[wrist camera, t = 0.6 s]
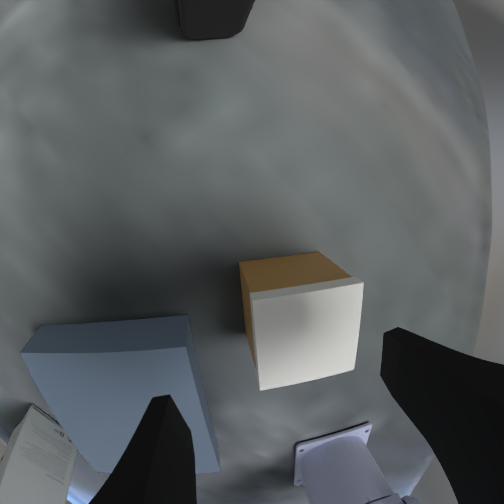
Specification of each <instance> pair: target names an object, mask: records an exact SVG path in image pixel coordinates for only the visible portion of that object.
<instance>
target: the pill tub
mask: <svg viewBox="0 0 504 504" xmlns="http://www.w3.org/2000/svg"><path fill="white" fill-rule="evenodd" d="M239 268H240V278H241V289H242V299H243V309H244V319H245V329H246V336H247V339H248V343H249V346H250V350H251V353H252V357H253V360H254V364H255V367H256V373H257V382H258V385H259V389H260V391H261V390H267V389H272V388H277V387H283V386H288V385H293V384H297V383H302V382H306V381H311V380H315V379H319V378H324V377H328V376H332V375H335V374H339V373H343V372H347V371H350V370H354V366H355V359H356V352H357V344H358V336H359V328H360V318H361V308H362V297H363V284H364V282H362V281H361V280H360V279H358V278H357V277H351V276H350V275H348V274H347V273H346V272H345V271H343V270H342V269H341V268H340V267H338V266H337V265H336V264H334V263H333V262H332V261H330V260H329V259H328V258H327V257H325V256H324V255H323V254H321V253H320V252H314V253H307V254H299V255H291V256H283V257H275V258H267V259H259V260H251V261H243V262H239Z"/></svg>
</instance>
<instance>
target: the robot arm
mask: <svg viewBox="0 0 504 504" xmlns="http://www.w3.org/2000/svg"><path fill="white" fill-rule="evenodd" d="M380 376H381V377H382V379H383V381H384V383H385V385H386V386H387V388H388V390H389V391H390V393H391V395H392V397H393V398H394V399H395V401H396V402H397V403H398V404H399V406H400V407H401V408H402V410H403V411H404V412H405V413H406V415H407V416H408V417H409V418H410V420H411V421H412V422H413V423H414V425H415V426H416V427H417V429H418V430H419V431H420V432H421V434H422V435H423V436H424V438H425V439H426V440H427V442H428V443H429V445H430V446H431V448H432V450H433V452H434V453H435V455H436V457H437V459H438V460H439V462H440V463H441V466H442V468H443V470H444V472H445V474H446V476H447V478H448V480H449V482H450V484H451V486H452V489H453V491H454V493H455V496H456V498H457V501H458V504H504V365H502V364H498V363H494V362H489V361H486V360H482V359H479V358H475V357H473V356H470V355H467V354H464V353H461V352H458V351H455V350H453V349H450V348H448V347H445V346H443V345H440V344H438V343H435V342H433V341H431V340H428V339H426V338H424V337H421V336H419V335H417V334H414V333H412V332H409V331H407V330H405V329H402V328H399V327H397V328H395V329H392V330H390V331H387V332H385V333H384V335H383V350H382V362H381V372H380ZM371 428H372V424H371V423H366V424H363V425H360V426H357V427H354V428H351V429H348V430H345V431H342V432H338V433H335V434H332V435H328V436H325V437H321V438H317V439H314V440H310V441H306V442H302V443H299V444H297V445H296V453H295V470H294V486H300V485H303V486H304V488H305V491H306V494H307V497H308V499H309V502H310V504H421V503H420V502H419V501H418V499H416V498H415V497H411V496H404V497H403V498H400V496H399V494H398V493H395V494H394V492H393V491H392V489H391V487H390V485H389V484H388V482H387V480H386V479H385V477H384V475H383V474H382V472H381V470H380V468H379V467H378V465H377V463H376V462H375V460H374V458H373V457H372V455H371V453H370V451H369V450H368V448H367V446H366V443H367V440H368V437H369V434H370V431H371ZM89 504H197V500H196V472H195V454H194V446H193V440H192V433H191V430H190V428H189V427H188V425H187V423H186V422H185V420H184V418H183V416H182V415H181V413H180V411H179V409H178V408H177V406H176V404H175V402H174V400H173V399H172V397H171V395H170V394H169V395H163V396H156V397H152V399H151V401H150V403H149V405H148V407H147V409H146V411H145V413H144V415H143V417H142V419H141V421H140V423H139V425H138V427H137V429H136V431H135V433H134V434H133V436H132V438H131V440H130V442H129V444H128V446H127V448H126V449H125V451H124V453H123V455H122V456H121V458H120V460H119V461H118V463H117V465H116V466H115V468H114V470H113V471H112V473H111V474H110V476H109V477H108V479H107V480H106V482H105V483H104V485H103V486H102V487H101V489H100V490H99V491H98V493H97V494H96V495H95V497H94V498H93V499H92V500H91V501H90V503H89Z"/></svg>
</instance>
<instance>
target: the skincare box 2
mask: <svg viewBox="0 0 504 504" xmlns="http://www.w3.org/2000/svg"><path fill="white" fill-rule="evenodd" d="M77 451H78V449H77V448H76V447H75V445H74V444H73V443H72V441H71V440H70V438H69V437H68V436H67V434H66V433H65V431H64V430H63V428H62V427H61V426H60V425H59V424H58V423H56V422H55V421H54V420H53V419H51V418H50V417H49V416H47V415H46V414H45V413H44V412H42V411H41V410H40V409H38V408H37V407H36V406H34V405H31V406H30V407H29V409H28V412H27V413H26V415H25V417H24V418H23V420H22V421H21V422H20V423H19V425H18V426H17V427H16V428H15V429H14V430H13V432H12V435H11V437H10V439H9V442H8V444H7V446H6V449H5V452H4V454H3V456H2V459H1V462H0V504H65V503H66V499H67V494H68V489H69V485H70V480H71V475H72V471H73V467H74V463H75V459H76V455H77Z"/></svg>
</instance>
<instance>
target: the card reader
mask: <svg viewBox="0 0 504 504" xmlns="http://www.w3.org/2000/svg"><path fill="white" fill-rule="evenodd" d="M254 1H255V0H174V3H175V10H176V17H177V23H178V25H179V27H181V30H182V32H183V34H184V35H185V36H186V37H188V38H191V39H196V40H199V39H210V38H223V37H230V36H233V35H236V34H238V33H239V32H241V31H242V29H243V28H244V26H245V23H246V21H247V18H248V16H249V13H250V11H251V9H252V6H253V3H254Z"/></svg>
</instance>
